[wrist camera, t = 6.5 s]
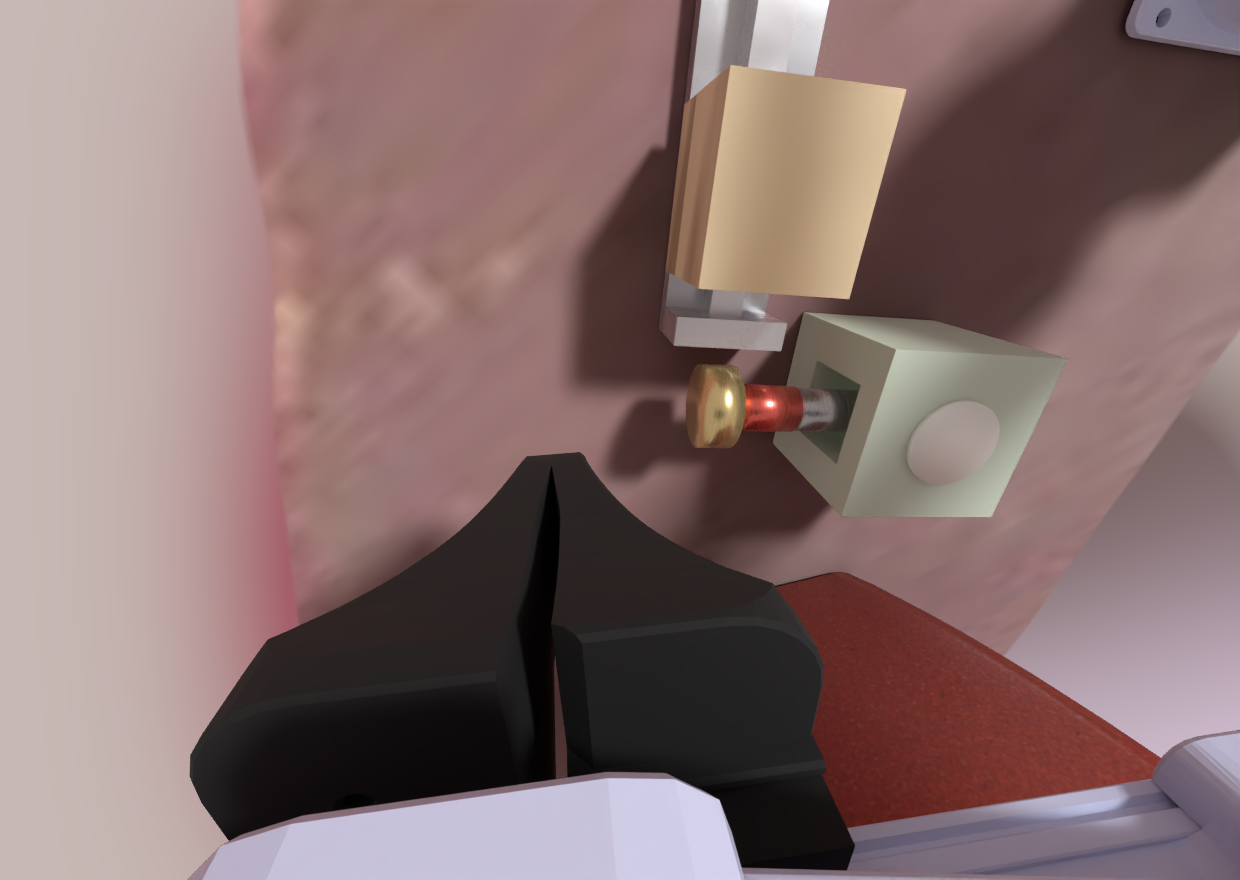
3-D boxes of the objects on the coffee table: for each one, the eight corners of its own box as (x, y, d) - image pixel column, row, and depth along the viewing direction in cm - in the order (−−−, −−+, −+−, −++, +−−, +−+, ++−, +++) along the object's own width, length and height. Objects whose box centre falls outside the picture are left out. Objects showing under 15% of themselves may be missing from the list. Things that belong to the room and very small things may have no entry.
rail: (861, -220, 13) (932, -321, 11) (752, 333, 20) (781, 351, 17) (724, -253, 13) (765, -367, 10) (658, 328, 19) (673, 345, 17)
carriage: (816, 121, 16) (906, 89, 12) (783, 279, 18) (849, 299, 14) (684, 104, 15) (730, 65, 11) (665, 270, 17) (698, 288, 13)
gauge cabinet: (934, 320, 21) (1077, 361, 15) (890, 446, 23) (997, 521, 17) (803, 312, 20) (902, 351, 14) (772, 443, 22) (846, 521, 17)
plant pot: (915, 502, 25) (1473, 952, 10) (893, 727, 33) (1172, 1155, 18) (556, 586, 24) (553, 1193, 9) (625, 792, 33) (683, 1286, 18)
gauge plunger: (859, 362, 19) (909, 387, 16) (838, 431, 20) (882, 465, 17) (692, 353, 18) (716, 379, 15) (681, 427, 19) (702, 462, 16)
